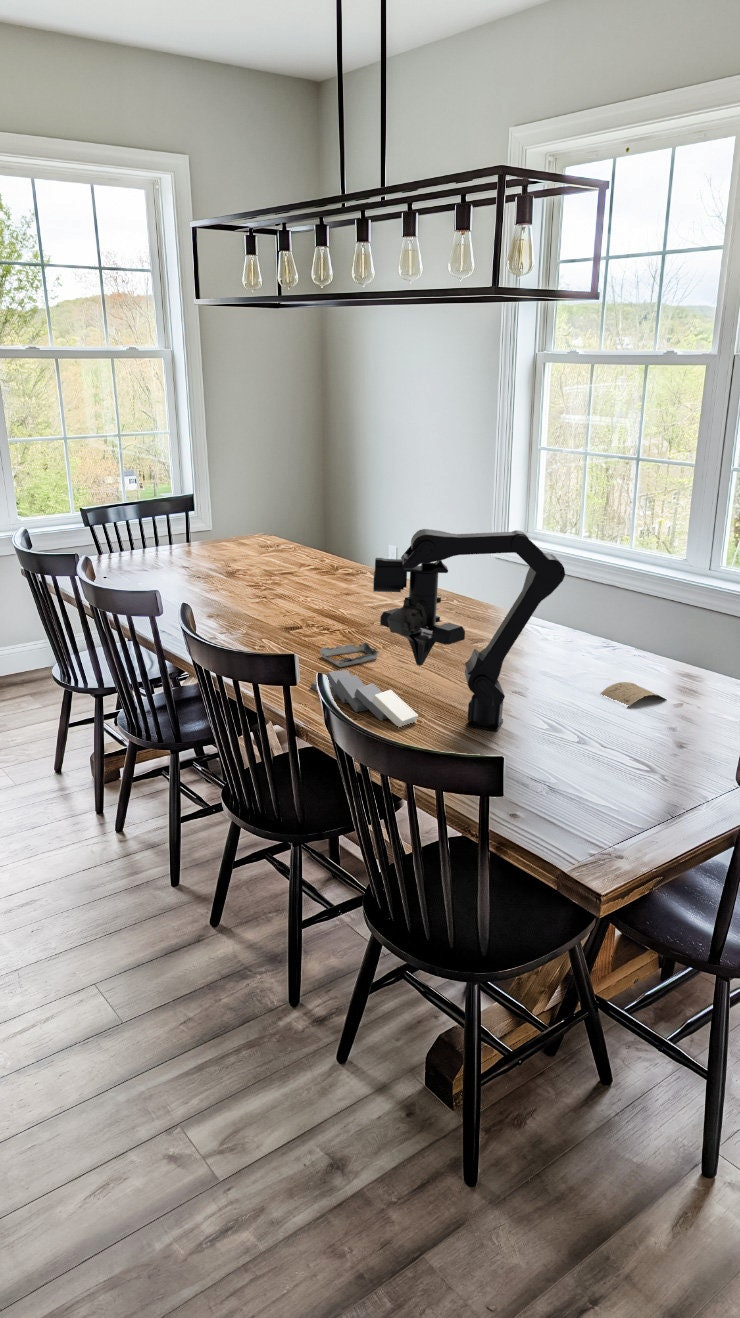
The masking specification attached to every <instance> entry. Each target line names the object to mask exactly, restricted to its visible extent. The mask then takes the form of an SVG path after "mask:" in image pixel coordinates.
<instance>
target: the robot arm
mask: <svg viewBox="0 0 740 1318" xmlns="http://www.w3.org/2000/svg"><path fill="white" fill-rule="evenodd" d="M487 554H489V555H490V554H517V555H518V556H519V558H520V559H522V560H523V561H524V562H525V563H526V564H527V565H528V567H529V568H528V571H527V573H526V576H525V580H524V583H523V587H522V589H521V592H520V593H519V595H518V597H517V598H516V600H515V601H514V602H513V604H512V606H511V608H510V609H509V611H508V612H507V614H506V615H505V617H504V619H503V620H502V622H501V624H500V626H499V627H498V629H497V630H496V631H495V633H494V635H493V636H492V638H491V639H490V641H489V643H488V644H487V646H485V647H484V648H483V649H482V650H480V651H479V650H477V648H474V649H473V650H472V653H471V655H470V657H469V659H468V660H467V661H465V662H464V665H465V669H464V675H465V679H466V683H467V686H468V689H469V691H471V693H473V694H472V696H471V698H470V701H469V702H468V704H467V705H468V708H467V721H468V722H467V726H468V727H471V728H475V729H476V728H477V729H482V730H487V731H493V732H497V731H499V729H500V728H501V726H502V724H503V722H504V718H502V717H503V716H502V715H503V706H504V699H505V697H506V696H505V694H504V691H503V688H502V684H501V683H500V681H499V677H500V674H501V671H502V666H503V663H504V660H505V658H506V657H507V655H508V654H509V652H510V650H511V649H512V647H513V646H514V644H515V643H516V642H517V639H518V638H519V636H520V635H521V633H522V632H523V630H524V628H525V626H526V625H527V624H528V623H529V620H530V619H531V617H532V616H533V614H534V612H535V611H536V609H537V608H538V606H539V605H540V603H541V602H542V601H543V600H545V599H546V598H548V597H549V596H550V595H552V594H553V592H554V591H555V590H557V588H558V587H559V586H560V585H561V583H562V582H563V581H564V579H565V577H566V571H565V570H566V569H565V567H564V565H563V563H561V561H560V560H559V559H558V558H557V557H556V556H555V555H554V554H552V553H549V552H543V551H542V550H541V548H539V547H538V546H537V545H536V543H534V542H532V540H530V539H529V537H528V536H527V534H525V533H524V531H522V530H519V529H517V530H513V531H502V532H501V531H499V532H497V531H495V532H476V533H475V532H474V533H451V532H446V531H442V530H438V529H429V528H422V529H419V530H417V531H416V532H415V533H414V534H413V535H412V538H411V540H410V546H409V547H408V548H407V549H406V550H405V552H404V553H403V554H402V555H401V557H400V558H399V559H398V558H384V557H375V558H374V571H373V586H372V587H373V588H372V589H373V592H374V593H380V592H381V593H401V592H402V591H403V590H404V589H405V588H407V582H408V573H409V590H408V591H409V592H408V596H406V597H404V599H403V606H401V607H400V608H399V607H396V608H392V609H389V610H386V611H383V612H382V614H380V618H379V620H380V621H379V624H380V625H379V626H382V627H386V628H389V631H390V633H392V634H397V635H400V636H402V637H404V638H405V639H407V640H408V643H409V645H410V647H411V650H412V654H413V658H414V660H415V664H416V665H417V666H419V667H420V666H423V665H424V663H425V661H426V659H427V657H428V656H429V654H430V652H431V650H432V649H433V647H434V646H435V644H436V643H437V644H442V645H452V644H455V643H458V642H460V641H461V642H462V641H464V640H465V639H466V630H465V628H464V627H463V626H462V625H459V624H455V623H452V622H447V623H444V624H439V625H438V624H437V623H439V622H441V617H440V616H438V615H437V605H438V604H441V602H442V597H440V596H438V589H439V588H438V586H439V574H448V572H449V569H448V566H447V565H446V564H445V563H443V561H444V560H446V559H450V558H452V557H455V556H463V555H466V556H467V555H487Z"/></svg>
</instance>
